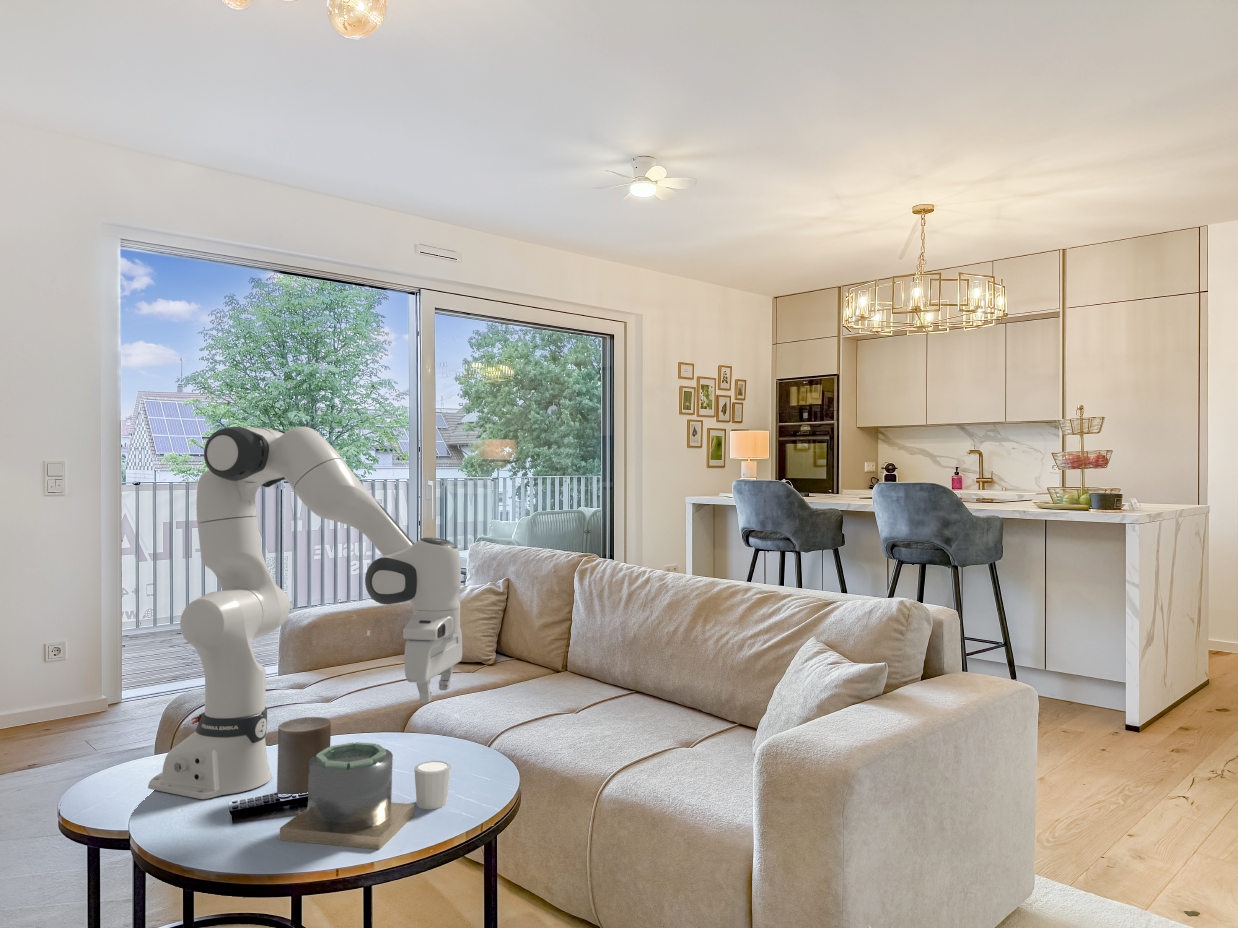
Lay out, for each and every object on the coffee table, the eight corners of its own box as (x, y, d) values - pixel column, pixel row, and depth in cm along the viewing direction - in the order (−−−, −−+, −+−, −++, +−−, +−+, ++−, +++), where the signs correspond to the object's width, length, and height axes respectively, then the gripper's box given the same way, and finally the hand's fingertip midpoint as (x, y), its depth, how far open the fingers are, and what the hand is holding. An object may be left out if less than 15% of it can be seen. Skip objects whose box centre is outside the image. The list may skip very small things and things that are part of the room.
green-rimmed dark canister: (279, 839, 134) (282, 762, 135) (322, 807, 148) (324, 736, 148) (379, 849, 131) (381, 769, 132) (414, 815, 145) (416, 743, 146)
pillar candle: (340, 788, 157) (341, 712, 158) (308, 806, 148) (310, 725, 149) (298, 783, 160) (299, 708, 161) (264, 801, 151) (266, 721, 151)
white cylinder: (441, 812, 147) (442, 773, 147) (406, 808, 148) (407, 770, 149) (456, 798, 154) (456, 761, 154) (423, 794, 155) (424, 758, 155)
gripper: (441, 614, 163) (439, 681, 162) (398, 631, 143) (397, 708, 142) (470, 615, 162) (469, 683, 161) (432, 632, 142) (430, 710, 141)
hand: (435, 695), depth 152 cm, fingers open, 8 cm apart
